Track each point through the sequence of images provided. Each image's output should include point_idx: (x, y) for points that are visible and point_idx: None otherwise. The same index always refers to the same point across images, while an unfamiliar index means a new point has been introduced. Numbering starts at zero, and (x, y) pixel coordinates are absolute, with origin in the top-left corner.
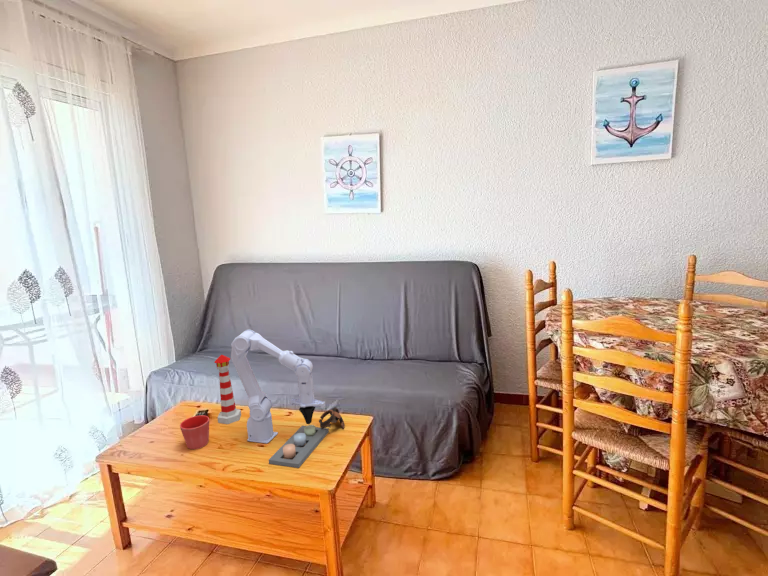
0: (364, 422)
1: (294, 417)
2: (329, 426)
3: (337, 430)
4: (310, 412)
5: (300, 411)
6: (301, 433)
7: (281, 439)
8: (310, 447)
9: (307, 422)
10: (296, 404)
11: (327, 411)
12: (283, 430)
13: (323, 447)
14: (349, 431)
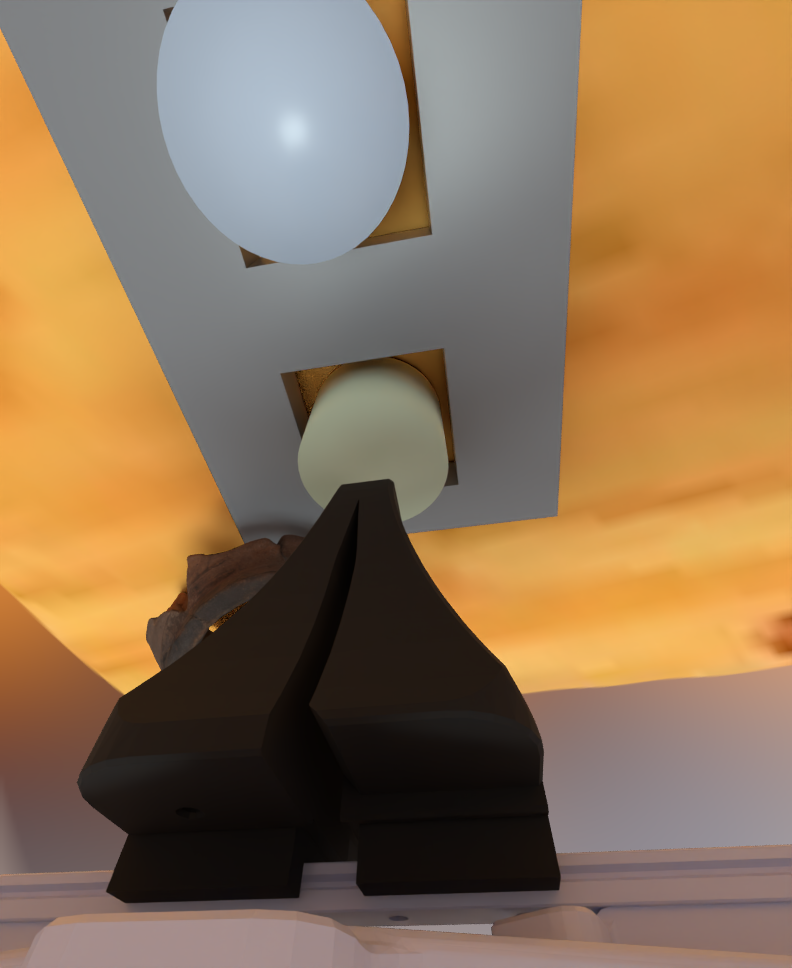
0: (122, 684)
1: (721, 607)
2: (194, 562)
3: None
4: (170, 678)
5: (469, 648)
6: (314, 230)
7: (715, 205)
8: (55, 74)
9: (358, 494)
10: (744, 867)
11: None
12: (762, 402)
13: (43, 257)
14: (105, 580)
